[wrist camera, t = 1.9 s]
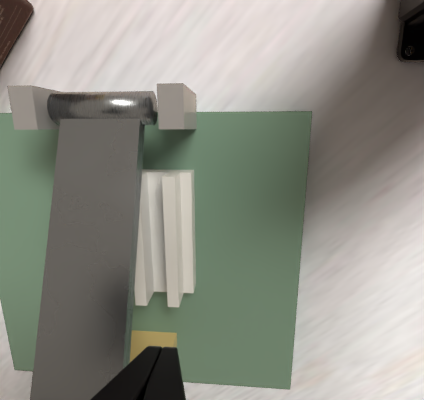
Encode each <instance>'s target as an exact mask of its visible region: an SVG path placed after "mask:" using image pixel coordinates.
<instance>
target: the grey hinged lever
mask: <svg viewBox="0 0 424 400" xmlns="http://www.w3.org/2000/svg"><path fill="white" fill-rule="evenodd" d="M47 110H48V114H49V116H50V118H51V120H52V121H53V122H54V123H55V124H56V125H60V128H59V137H58V147H57V156H56V165H55V174H54V184H53V193H52V202H51V211H50V220H49V230H48V239H47V248H46V257H45V267H44V276H43V285H42V294H41V304H40V313H39V322H38V331H37V340H36V350H35V359H34V368H33V377H32V387H31V396H30V400H90V399H91V398H92V397H93V396H94V395H96V394H97V393H98V392H99V391H100V390H101V389H102V388H103V387H104V386H105V385H106V384H107V383H108V382H110V381H111V380H112V379H113V378H114V377H115V376H116V375H117V374H118V373H119V372H120V371H121V370H122V369H123V368H125V367H126V366H127V365H128V364H129V363H130V350H131V334H132V319H133V304H134V288H135V273H136V258H137V242H138V227H139V211H140V196H141V181H142V165H143V150H144V135H145V125H155V124H156V122H157V117H158V107H157V100H156V96H155V94H154V92H153V91H135V92H55V93H51V94H50V95H49V97H48V100H47Z"/></svg>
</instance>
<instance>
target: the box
mask: <svg viewBox="0 0 424 400" xmlns="http://www.w3.org/2000/svg"><path fill="white" fill-rule="evenodd" d="M32 11H33V6H32V5H31V4H30V3H29V2H28V1H27V0H0V66H1V65H2V63H3V61H4V59H5V57H6V56H7V54H8V52H9V50H10V49H11V47H12V45H13V44H14V42H15V40H16V38H17V37H18V35H19V33H20V32H21V30H22V28H23V27H24V25H25V24H26V22H27V20H28V18H29V17H30V15H31V13H32Z"/></svg>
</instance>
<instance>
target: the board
mask: <svg viewBox="0 0 424 400" xmlns="http://www.w3.org/2000/svg"><path fill="white" fill-rule="evenodd" d="M7 87H8V93H9V99H10V105H11V111H12V113H0V300H1V305H2V310H3V315H4V320H5V325H6V330H7V334H8V339H9V344H10V349H11V354H12V359H13V364H14V369H15V370H22V371H33V368H34V359H35V350H36V340H37V331H38V322H39V313H40V304H41V294H42V285H43V276H44V267H45V257H46V248H47V239H48V230H49V220H50V211H51V202H52V193H53V184H54V174H55V165H56V156H57V147H58V137H59V128H60V125H56V124H55V123H54V122H53V121H52V120H51V118H50V116H49V114H48V110H47V100H48V97H49V95H50V94H51V93H55V92H59V91H55V90H50V89H45V88H40V87H36V86H7ZM157 98H158V117H157V122H156V124H155V125H145V135H144V150H143V165H142V181H141V196H140V211H139V227H138V242H137V258H136V273H135V288H134V304H133V319H132V334H131V350H130V362H131V361H132V360H133V359H134V358H135V357H136V356H137V355H138V354H140V353H141V352H142V351H143V350H144V349H145V348H146V347H147V346H161V347H162V348H163V347H176V348H177V349H178V355H179V361H180V367H181V373H182V379H183V382H191V383H205V384H219V385H233V386H248V387H262V388H276V389H290V385H291V372H292V359H293V347H294V334H295V321H296V309H297V296H298V284H299V271H300V258H301V246H302V233H303V220H304V208H305V195H306V182H307V170H308V157H309V144H310V132H311V119H312V111H286V112H196V94H195V93H194V92H193V91H191V90H190V89H189V88H188V87H187V86H186V85H184V84H183V83H176V84H157Z"/></svg>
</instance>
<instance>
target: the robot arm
mask: <svg viewBox="0 0 424 400" xmlns="http://www.w3.org/2000/svg"><path fill="white" fill-rule="evenodd" d="M398 18H399V20H400V22H401V27H400V34H399V41H398V48H397V57H398V59H399V60H400V61H401V62H424V0H401V2H400V9H399V16H398ZM406 48H409V49H410V50H411V53H410V55H409V56H408V55H406V53H405V50H406ZM90 400H186V398H185V392H184V386H183V379H182V373H181V367H180V361H179V355H178V349H177V348H176V347H163V348H162V347H161V346H147V347H146V348H145V349H144V350H143V351H142V352H141V353H140V354H138V355H137V356H136V357H135V358H134V359H133V360H132V361H131V362H130V363H129V364H128V365H127V366H126V367H125V368H123V369H122V370H121V371H120V372H119V373H118V374H117V375H116V376H115V377H114V378H113V379H112V380H111V381H110V382H108V383H107V384H106V385H105V386H104V387H103V388H102V389H101V390H100V391H99V392H98V393H97V394H96V395H94V396H93V397H92V398H91V399H90Z"/></svg>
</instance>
